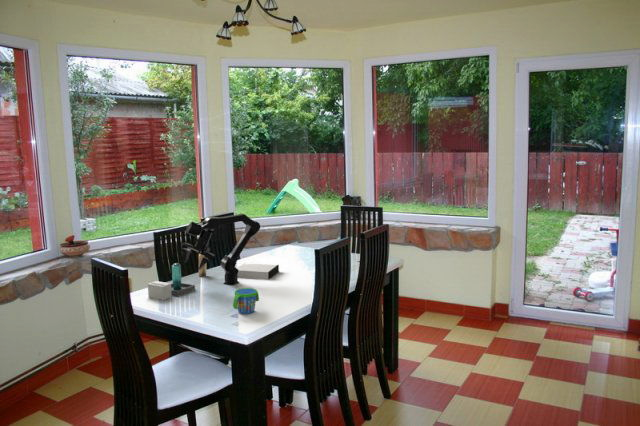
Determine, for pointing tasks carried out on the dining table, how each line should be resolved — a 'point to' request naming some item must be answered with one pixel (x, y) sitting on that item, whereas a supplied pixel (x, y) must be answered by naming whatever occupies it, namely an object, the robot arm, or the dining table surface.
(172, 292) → the tray
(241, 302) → the snack cup
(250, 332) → the dining table surface
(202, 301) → the dining table surface
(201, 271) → the cylinder
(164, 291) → the block
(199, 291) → the dining table surface
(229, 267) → the robot arm
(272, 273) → the disc drive
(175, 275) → the cylinder
